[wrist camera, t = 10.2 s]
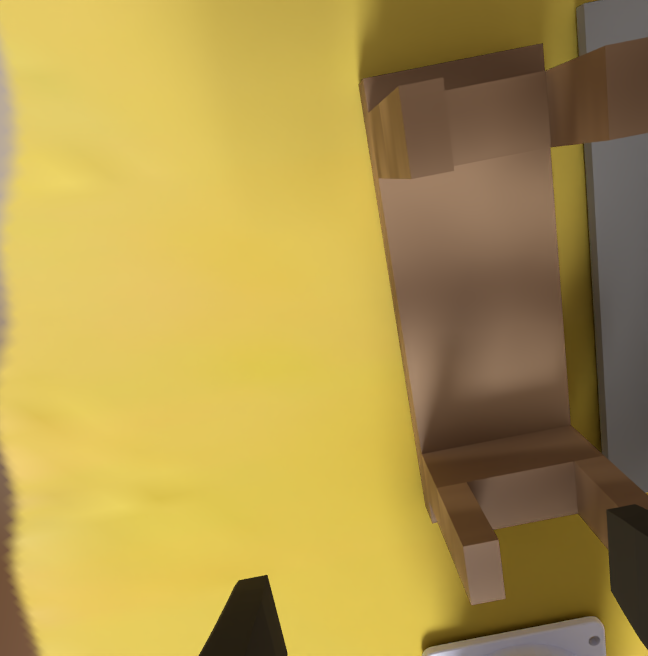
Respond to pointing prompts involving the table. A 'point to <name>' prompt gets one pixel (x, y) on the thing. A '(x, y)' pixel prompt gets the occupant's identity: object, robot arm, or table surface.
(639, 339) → the mat
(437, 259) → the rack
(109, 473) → the table surface
